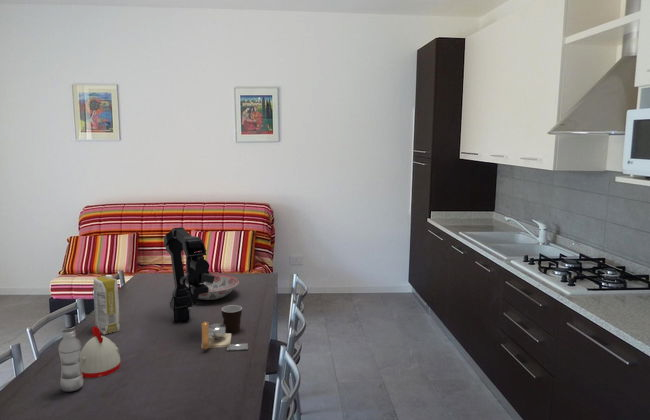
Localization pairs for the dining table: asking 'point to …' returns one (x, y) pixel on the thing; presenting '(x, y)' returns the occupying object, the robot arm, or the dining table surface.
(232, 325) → the coffee mug
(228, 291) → the ceramic bowl
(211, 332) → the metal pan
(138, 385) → the dining table surface
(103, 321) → the juice carton
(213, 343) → the square beige tile
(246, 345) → the loose steel rod
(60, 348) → the plastic bottle
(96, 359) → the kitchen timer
